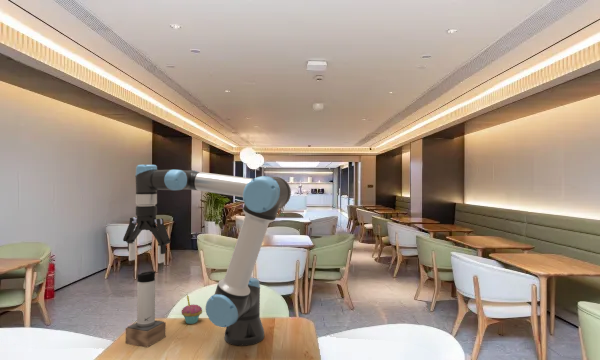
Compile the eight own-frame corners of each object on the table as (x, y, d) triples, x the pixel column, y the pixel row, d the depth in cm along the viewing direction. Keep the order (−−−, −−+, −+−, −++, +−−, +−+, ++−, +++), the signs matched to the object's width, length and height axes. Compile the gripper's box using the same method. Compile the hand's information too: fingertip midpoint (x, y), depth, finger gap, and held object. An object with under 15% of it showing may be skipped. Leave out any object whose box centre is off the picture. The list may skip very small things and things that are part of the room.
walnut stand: (165, 336, 150) (165, 321, 150) (147, 347, 141) (147, 330, 141) (144, 333, 154) (144, 318, 154) (125, 343, 144) (125, 327, 144)
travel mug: (149, 328, 143) (149, 274, 143) (133, 326, 145) (133, 273, 145) (158, 321, 150) (159, 270, 149) (143, 320, 151) (143, 269, 151)
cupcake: (180, 326, 161) (180, 297, 161) (182, 318, 170) (182, 291, 170) (201, 324, 163) (201, 296, 163) (202, 317, 171) (202, 290, 171)
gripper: (180, 205, 146) (180, 261, 146) (127, 204, 155) (127, 257, 155) (167, 206, 139) (167, 265, 139) (113, 205, 148) (113, 260, 148)
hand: (146, 261), depth 147 cm, fingers open, 13 cm apart
